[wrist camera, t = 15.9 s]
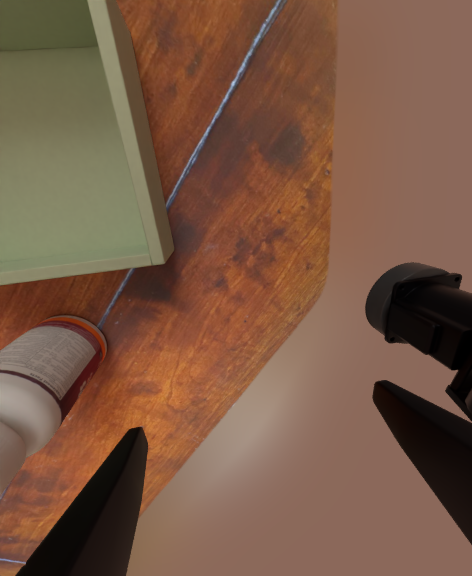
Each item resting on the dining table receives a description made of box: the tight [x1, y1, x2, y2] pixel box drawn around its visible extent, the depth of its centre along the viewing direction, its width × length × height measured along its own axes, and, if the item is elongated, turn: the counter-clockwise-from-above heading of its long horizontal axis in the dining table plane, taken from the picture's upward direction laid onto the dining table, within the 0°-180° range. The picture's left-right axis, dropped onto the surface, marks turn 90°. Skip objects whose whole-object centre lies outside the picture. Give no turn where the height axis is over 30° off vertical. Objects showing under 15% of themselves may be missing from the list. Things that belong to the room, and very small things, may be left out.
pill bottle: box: [0, 315, 107, 495], centre depth 15 cm, size 6×6×11 cm
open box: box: [0, 0, 175, 285], centre depth 13 cm, size 16×14×5 cm
